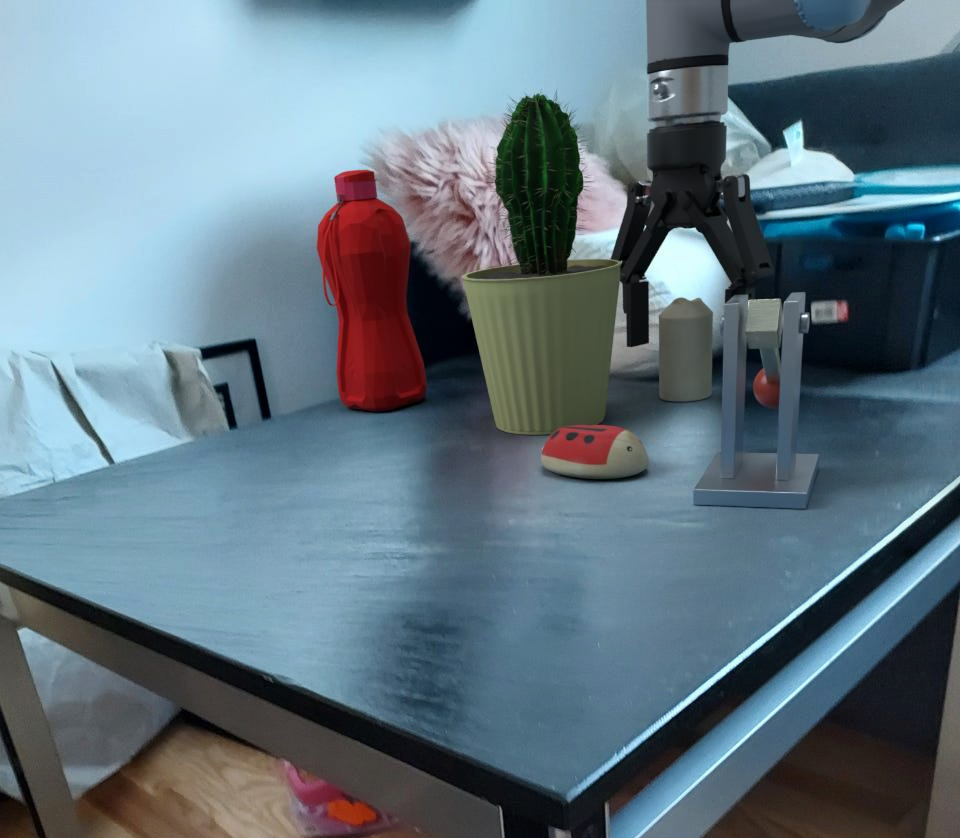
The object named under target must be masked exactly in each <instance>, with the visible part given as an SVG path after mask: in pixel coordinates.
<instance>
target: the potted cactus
mask: <svg viewBox="0 0 960 838" xmlns="http://www.w3.org/2000/svg"><path fill="white" fill-rule="evenodd" d="M542 92H543V90H542V88H541V89H540V92H537V93H536V94H533V95H532V94H531V93H530V94H529V95H528V94H527V93H526V92H523V94H524V95H525V96H524V97H521V99H519V102H516V100H515V99H513V98H511V96H509V95H508V94H507V95H508V98H509V99H511V101H512V102H513V104H514V106H513V108H511V105H510V104H507V105H508V106H507V107H508V108H507V111H508V112H509V113H507V112H504V113H503V115H504V116H505V117H506V118H505V117H503V122H501V123H502V125H503V126H505V128H502V129H503V131H504V132H503V133H502V136H501V139H500V140H498V139H496V140H497V142H498V144H497V146H496V148H495V147H493V146H486V147H488V148H491V149H493V150H496V152H497V154H496V157H495V156H492V157H493V158H492V160H493V161H495V163H494V162H490V161H489V162H488V161H486V163H489V164H491V165H494V166H493V169H494V170H491V173H493V172H494V174H495V175H491V174H490V176H489V175H486V174H488V173H490V171H485V174H484V172H483V173H481V175H484V176H485V177H487V178H488V179H489V180H491V181H487V182H486V184H494V185H492V186H491V188H492V190H489V193H490V192H491V193H492V192H495V194H496V198H495V196H493V197H492V199H491V200H493V201H500V200H501V201H502V205H503V206H502V207H501V208H499V209H498V210H497V211H496V212H495V213H494V214H493V215H492V217H494V216H495V215H496V214H497V213H499V215H498V216H500V217H499V218H498V221H500V220H501V221H502V220H507V221H506V222H504V223H503V227H504V226H505V227H504V229H502V230H501V232H502V233H503V235H506V236H505V237H504V238H503V239H501V241H503V240H504V239H508V240H509V239H511V243H512V244H510V245H509V246H507V247H506V249H507V248H508V249H510V248H513V250H512V251H511V252H509V253H508V255H509V254H511V253H513V252H514V254H515V256H516V257H514V258H512V259H511V260H508V261H507V262H506V264H507V263H510V262H511V263H510V264H509V265H504V266H503V265H502V266H496V267H495V266H494V267H489V268H483V269H479V270H474V271H470V272H467V273H465V274H462V275H461V280H463V282H464V289H465V290H464V291H465V295H466V300H467V303H468V308H469V312H470V318H471V321H472V325H473V329H474V334H475V339H476V343H477V347H478V352H479V356H480V357H479V358H480V361H481V365H482V370H483V374H484V378H485V382H486V388H487V392H488V396H489V397H488V398H489V401H490V405H491V406H490V407H491V410H492V414H493V420H494V423H495V425H496V428H497V429H498V430H500V431H502V432H505V433H509V434H514V435H527V436H542V435H543V436H544V435H545V436H546V435H551V434H552V433H554V432H555V431H556V430H557V429H559V428H562V427H565V426H572V425H593V424H595V425H600V423H602V422H603V421H604V419H605V416H606V410H607V402H608V401H607V399H608V391H609V382H610V373H611V363H612V355H613V346H614V338H615V337H614V336H615V327H616V319H617V310H618V309H617V308H618V300H619V292H620V284H621V282H620V266H621V263H622V261H618V260H610V259H611V258H609V259H608V258H583V259H582V258H580V259H578V258H577V259H570V257H571V256H574V252H575V254H577V252H576V249H575V248H574V246H573V245H574V242H575V239H576V236H577V235H580V236H584V234H583V233H580V234H579V233H576V231H578V232H579V231H580V232H582V231H583V230H584V225H583V224H580V225H579V224H578V226H579V227H578V226H577V221H580V218H578V215H579V214H578V211H579V213H581V212H582V211H583V212H584V211H586V212H587V209H583V208H580V207H578V205H580V204H581V202H579V197H580V199H581V201H584V199H583V197H582V195H581V194H582V193H584V195H586V193H585V192H584V191H586V192H591V193H592V191H591V190H588V189H586V188H590V185H589V186H587V185H584V183H586V184H593V183H595V181H594V180H585V179H590V177H592V174H590V175H588V176H587V173H588V172H589V170H588V169H587V166H585V163H583V162H582V160H584V157H581V156H582V155H584V154H582V153H583V152H585V150H584V149H586V147H587V144H584V145H582V147H581V148H579V143H580V144H581V143H582V142H586V141H587V139H586V140H585V139H582V140H578V139H579V138H581V136H578V135H577V133H576V132H577V131H578V130H580V129H581V126H579V122H577V123H575V124H572V123H574V120H573V119H574V118H575V117H576V116H577V115H576V114H575V112H576V111H577V110H578V108H576V109H575V110H574V111H573V108H574V107H572V109H571V110H570V112H569V113H568V109H569V106H567V105H568V103H565V105H564V106H563V107H561V104H564V103H563V102H564V101H565V100H564V101H561V102H560V101H558V96H559V95H558V89H556V90H555V93H554V96H553V100H552V99H549V98H548V96H547V95H546V94H542ZM530 96H531V97H530ZM571 101H572V100H570V101H569V103H571ZM566 106H567V108H566ZM565 108H566V109H565ZM512 109H514V110H512ZM562 109H564V110H562ZM510 114H511V115H510ZM573 114H574V115H573ZM572 115H573V116H572ZM504 123H505V124H504ZM580 125H583V123H581V124H580ZM584 137H585V136H584V135H583V136H582V138H584ZM580 150H584V151H581V152H580ZM580 164H581V165H583V166H585V167H584V168H583V169H582V170H581V168H580ZM490 169H492V166H491V167H490ZM584 180H585V181H584ZM493 187H495V188H493ZM583 190H584V191H583ZM493 198H494V199H493ZM500 210H501V211H500ZM580 210H581V211H580ZM500 214H501V215H500ZM501 217H503V218H501ZM581 221H583V222H586V220H584V219H581ZM586 230H588V229H586ZM510 236H511V237H510ZM572 252H573V253H572ZM513 260H515V261H513Z"/></svg>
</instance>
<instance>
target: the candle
mask: <svg viewBox="0 0 960 838" xmlns="http://www.w3.org/2000/svg"><path fill="white" fill-rule="evenodd" d="M713 329H714V312H713V310H712V309H711V308H710V307H709V306H708V305H707V304H706V303H705V302H704V301H703V300H702V298H701V297H697V298H694V299H692V300H690V299H687V298H686V297H677V298H674V300H672V301H671V303H669V305H667V306H666V307H665V308H664V309H663V310H662V311H661V312H660V313H659V315H658V382H659V383H658V386H659V387H658V389H659V398H660V399H661V400H663V401H667V402H677V403H679V402H694V401H695V402H696V401H701V400H704V399H707V398H710V397H711V396H712V392H713V391H712V389H713V387H712V386H713V340H714V339H713V335H714V334H713V333H714V330H713Z"/></svg>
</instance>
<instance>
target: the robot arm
mask: <svg viewBox="0 0 960 838" xmlns="http://www.w3.org/2000/svg"><path fill="white" fill-rule="evenodd" d="M905 1H906V0H645V10H646V14H645V15H646V16H645V17H646V55H647V56H646V58H647V60H646V62H647V63H646V114H647V115H646V119H647V121H648V122H649V123H653V128H650V129H649V130H648V132H647V133H646V166H647V169H648V170H649V171H651V173H652V179H651V180H649V179H648V180H640V181H638V180H637V181H631V182H629V183H628V186H627V197H626V207H625V210H624V214H623V217H622V220H621V224H620V226H619V229H618V232H617V236H616V240H615V243H614V247H613V250H612V253H611V256H610V258H609V259H610V260H618V261H621V266H620V284H622V311H623V314H626V316H625V318H626V322H625V323H626V324H625V325H626V327H625V328H626V347H627V348H635V347H639V346H644V345H647V344H650V297H649V296H650V287H649V286H650V281H649V280H648V281H646V280H647V276H646V273H647V272H648V269H649V268H650V265H651V264H652V262H653V260H654V258H655V257H656V255H657V254H658V252H659V250H660V249H661V247H662V245H663V244H664V242H665V240H666V238H667V236H668V234H669V233H670V232H671V231H673V230H674V229H681V228H682V229H685V230H686V229H688V230H689V229H695V230H696V231H697V232H698V233H699V234H701V235H702V236H703V237H704V239H705V241H706V242H707V245H708V246H709V248H710V249H711V251H712V252H713V254H714V256H715V258H716V259H717V262H718V264H719V265H720V266H721V268H722V269H723V272H724V273H725V275H726V276H727V279H728V280H729V282H730V283H731V284H730V285H729V286H728V287H727V288H725V289H724V304H725V303H726V302H728V301H729V300H730V299H731V298H732V297H733V296H734V295H748V301H749V300H756V298H755V297H756V296H755V295H756V287H757V285H758V284H760V283H762V282H764V281H767V280H770V279H772V278H773V277H774V275H775V268H774V265H773V262H772V259H771V256H770V253H769V250H768V246H767V244H766V241H765V238H764V235H763V232H762V229H761V226H760V223H759V220H758V216H757V214H756V211H755V208H754V205H753V202H752V199H751V179H750V176H749V175H748V174H747V173H741V174H732V175H726V176H725V177H723V176H722V175H723V174H722V166H723V164H724V163H725V162H726V160H727V159H726V158H727V135H728V133H727V131H728V127H727V125H726V123H725V121H721V118H722V116H724V115H726V114H727V113H728V111H729V109H728V107H729V106H728V105H729V104H728V103H729V64H730V63H729V61H730V60H729V59H730V57H729V53H730V52H729V51H730V45H731V44H733V43H735V44H737V43H744V42H747V41H756V40H762V39H770V38H778V37H779V38H780V37H786V36H796V37H803V38H808V39H816V40H822V41H824V42H826V43H833V44H846V43H850V42H853V41H856V40H859V39H861V38H864V37H865V36H867V35H870V33H872V32H873V31H874V30H876V29H877V28H878V27H879V25H880V24H881V23H882V22H883V21H884V19H885V18H886V16H887V14H888V13H889V12H890V11H892V10H894V9H895V8H896V7H899V6H900V5H901V4H902V3H903V2H905ZM720 200H722V201H723V206H724V209H723V207H722V205H721V204H720ZM652 204H653V207H652ZM651 208H652V209H651ZM724 210H725V211H724ZM728 222H729V223H728ZM746 355H748V345H747V346H746Z"/></svg>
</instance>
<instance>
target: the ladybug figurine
mask: <svg viewBox="0 0 960 838" xmlns="http://www.w3.org/2000/svg"><path fill="white" fill-rule="evenodd" d="M540 450H541V451H540V452H541V453H540V464H541V465H542V467H543V468H545V469H546V470H548V471H550V472H552V473H554V474H558V475H560V476H561V475H562V476H566V477H572V478H579V479H587V480H588V479H589V480H591V479H592V480H612V479H613V480H614V479H623V478H628V477H631V476H635V475H638V474H640V473H642V472H643V471H644V470H646V469H647V468H648V467H649V464H650V459H649V455H648V451H647V450H646V448H645V446H644V445H643V442H642V441H641V439H639V437H637V436H636V435H635V434H634V433H632V432H631V431H630V430H628V429H626V428H623V427H619V426H613V425H606V424H605V425H604V424H597V425H595V424H593V425H572V426H565V427H562V428H559V429H557V430H556V431H555V432H554V433H552V434H550V435H549V437H548V438H547V440H546V441H545V443H544V445H543V446H542V448H541V449H540Z"/></svg>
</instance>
